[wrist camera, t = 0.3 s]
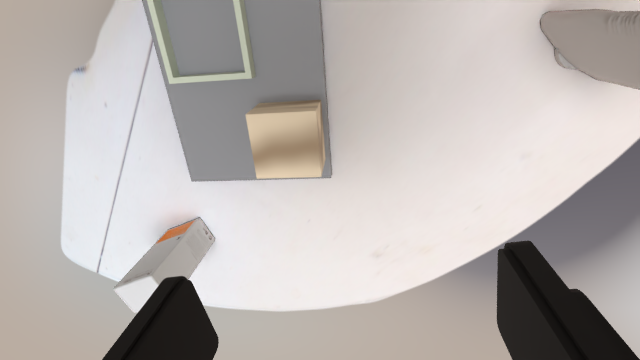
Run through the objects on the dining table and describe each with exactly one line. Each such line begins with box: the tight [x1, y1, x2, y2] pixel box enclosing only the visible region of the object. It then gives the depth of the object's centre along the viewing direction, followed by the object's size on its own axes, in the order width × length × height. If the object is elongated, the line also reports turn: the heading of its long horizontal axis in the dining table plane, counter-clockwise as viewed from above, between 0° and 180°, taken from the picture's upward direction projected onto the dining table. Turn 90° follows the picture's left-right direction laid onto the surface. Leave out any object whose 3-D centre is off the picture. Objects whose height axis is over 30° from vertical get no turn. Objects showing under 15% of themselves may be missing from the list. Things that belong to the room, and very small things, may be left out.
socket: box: [147, 0, 256, 84], centre depth 33 cm, size 9×9×2 cm
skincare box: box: [113, 218, 215, 313], centre depth 42 cm, size 6×4×12 cm
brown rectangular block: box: [246, 100, 326, 179], centre depth 35 cm, size 7×7×5 cm
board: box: [142, 0, 332, 181], centre depth 37 cm, size 22×18×1 cm
